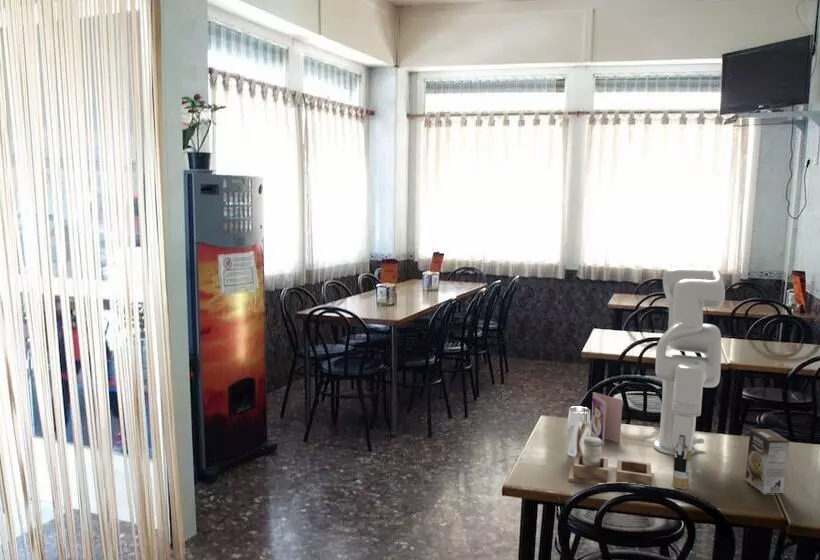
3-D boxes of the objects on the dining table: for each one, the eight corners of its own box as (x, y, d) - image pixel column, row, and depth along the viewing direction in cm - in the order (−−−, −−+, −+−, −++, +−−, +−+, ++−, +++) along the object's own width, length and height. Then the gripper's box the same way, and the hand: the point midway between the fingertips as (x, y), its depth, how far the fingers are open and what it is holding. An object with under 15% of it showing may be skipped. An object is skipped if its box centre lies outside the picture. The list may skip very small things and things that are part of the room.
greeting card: (588, 433, 234) (590, 391, 232) (608, 433, 234) (611, 391, 232) (600, 446, 222) (603, 402, 220) (622, 445, 223) (625, 402, 221)
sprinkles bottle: (680, 482, 196) (684, 438, 194) (692, 488, 192) (696, 443, 190) (668, 484, 195) (671, 439, 193) (679, 491, 190) (683, 445, 189)
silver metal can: (586, 450, 218) (589, 406, 216) (590, 459, 211) (592, 413, 209) (564, 449, 219) (567, 405, 217) (567, 458, 212) (570, 412, 210)
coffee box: (744, 480, 198) (749, 428, 196) (764, 480, 199) (770, 428, 196) (762, 495, 189) (768, 440, 187) (784, 494, 190) (790, 439, 187)
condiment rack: (654, 476, 200) (656, 440, 198) (655, 494, 188) (658, 456, 187) (571, 465, 207) (573, 430, 205) (568, 481, 195) (570, 444, 194)
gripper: (677, 398, 199) (672, 453, 201) (667, 413, 184) (663, 473, 186) (704, 402, 195) (699, 458, 197) (697, 418, 181) (692, 479, 183)
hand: (682, 465), depth 192 cm, fingers open, 9 cm apart
